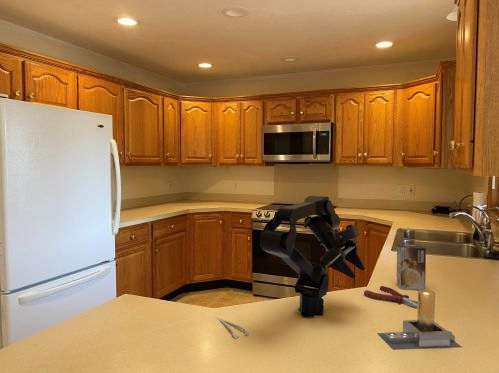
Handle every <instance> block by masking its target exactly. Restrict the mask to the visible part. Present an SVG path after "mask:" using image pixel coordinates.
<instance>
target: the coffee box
mask: <svg viewBox="0 0 499 373" xmlns="http://www.w3.org/2000/svg"><path fill="white" fill-rule="evenodd" d="M426 255H427V248H426V246H425V247H424V246H423V245H421V244H403V243H402V244H401V243H400V244H399V243H397V244H396V283H395V284H396V286H398V288H399V289H400V290H412V291H413V290H415V291H416V290H426V282H427V281H426V278H427V277H426V270H427V267H426V263H427V262H426V261H427V260H426V258H427V256H426Z"/></svg>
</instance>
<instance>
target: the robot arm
mask: <svg viewBox="0 0 499 373" xmlns="http://www.w3.org/2000/svg"><path fill="white" fill-rule="evenodd" d="M313 215H314V216H313ZM311 216H312V217H311ZM303 219H304V220H303ZM300 220H303V223H304V224H303V228H304V229H306V228H308V229H309V230H310V232H311V233H312V234H313V235H314V237H315V238H317V240H318V242H317V243H318V245H319V246H323V247H324V248H325V250H326V252H325V253H324V254H323V255H321V257H320V263H316V262H311V261H308V260H307V258H305V256H304V255H303V254H301V252H300V251H299V250H298V249H297V248H295V243H296V240H297V236H298V233H297V232H298V231H297V226H296V224H297V222H298V221H300ZM283 223H286V224H287V223H289V229H288V231H282V230H276V229H277V228H279V227H280V226H281V225H282V224H283ZM340 224H341V219H340V216H339V214H337V213H336V210H335V208H334V205H333V203H332V201H331V200H330V197H329V196H325V195H323V196H322V195H309V196H307V197H305V198H304V200H303V202H300V203H296V204H292V205H289V206H286V207H279V208H278V209H277V210H276V213H275V215H274V216H273V217H272V218H271V219H270V220H269V221H268V222H267V223H266V224H265V226H264V227H263V230H262V232H261V234H260V237H259V244H260V248H261V250H262V251H264V252H266V253H268V254H271V255H273V256H276V257H279V258H280V259H281V260H282V261H284V263H285V264H286V265H288V266H289V267H290V269H292V270H293V271H294V272H295V273H296V274H298V278H297V280H296V282H295V285H294V292H295V293H296V294H299V307H298V308H297V311H299V313H300V315H301V317H302V318H315V317H317V316H319V317H320V316H321V317H323V316H324V307H325V306H324V302H325V300H324V298H323V297H325V296H326V295H327V293H328V287H329V281H330V279H329V275H328V272H327V271H326V270H327V269H326V268H324V267H327V268H329V269H332V270H335V271H337V272H339V273H341V274H343V275H345V276H347V277H349V278H351V279H355V278H356V274H355V272H354V271H353V270H352V268H351V266H350V264H351V265H353V266H354V267H356V268H357V269H359V270H360V271H365V269H366V266H365V265H364V263H363V261H362V259H361V256H360V254H359V252H358V249H359V247H360V246H359V243H360V242H359V241H358V240H357V239H356V238H358V237H360V234H359V228H358V227H357V226H356V225H354V224H353V223H350V224H347V225H345V229H344V230H343V229H342V230H341V231H340V230H339V229H337V228H338V227H340ZM348 263H350V264H348ZM323 266H324V267H323Z"/></svg>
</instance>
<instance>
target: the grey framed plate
mask: <svg viewBox="0 0 499 373" xmlns="http://www.w3.org/2000/svg"><path fill="white" fill-rule="evenodd" d="M385 333H386V339H387V340H388V341H389V342H390V343H391V344H395V343H414V344H416V345H417V346H418V347H419V348H423V347H450V342H456V339H455V338H456V336H455V334H453V332H452V331H450V330H447V329H446V328H444V327H443V326H441V325H440V324H439V323H437V322H435V323H434V331H431V332H421V331H419V330H418V329H417V319H409V320H402V331H397V332H396V331H393V332H391V331H389V332H385Z"/></svg>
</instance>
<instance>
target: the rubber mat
mask: <svg viewBox="0 0 499 373" xmlns="http://www.w3.org/2000/svg"><path fill="white" fill-rule="evenodd" d="M386 333H387V332H378V333H376V334H377V335H378V337H379V338H381V339H382V341H384V343H385V344H386V345H387V346H389V348H391V349H392V350H394V351H395V350H398V351H399V350H420V349H421V350H424V349H427V350H429V349H453V348H463V345H462V346H461V344H459V343H458V342H456V341H455V342H450V347H423V348H419V347H418V346H417V345H416V344H414V343H395V344H391V343H390V342H389V341H388V340H387V339H386Z"/></svg>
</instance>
